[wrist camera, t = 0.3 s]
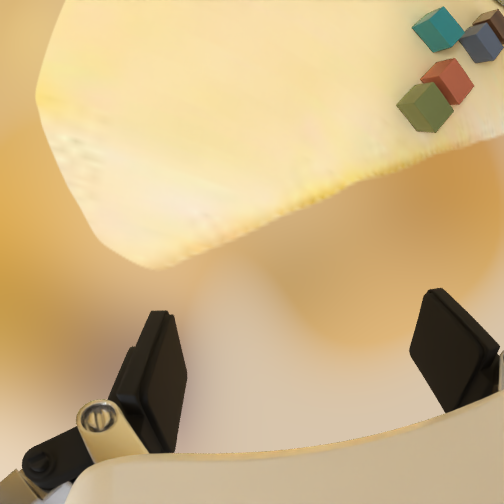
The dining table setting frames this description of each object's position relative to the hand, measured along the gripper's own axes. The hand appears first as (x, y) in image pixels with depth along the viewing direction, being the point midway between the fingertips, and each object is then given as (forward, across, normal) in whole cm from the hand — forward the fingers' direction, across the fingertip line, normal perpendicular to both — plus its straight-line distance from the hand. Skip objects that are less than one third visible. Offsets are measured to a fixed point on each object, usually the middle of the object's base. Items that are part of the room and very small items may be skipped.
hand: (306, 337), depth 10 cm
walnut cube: (+31, -41, -30) cm, 60 cm away
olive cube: (+31, -23, -12) cm, 40 cm away
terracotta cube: (+31, -28, -16) cm, 44 cm away
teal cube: (+31, -27, -25) cm, 48 cm away
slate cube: (+31, -37, -25) cm, 54 cm away
